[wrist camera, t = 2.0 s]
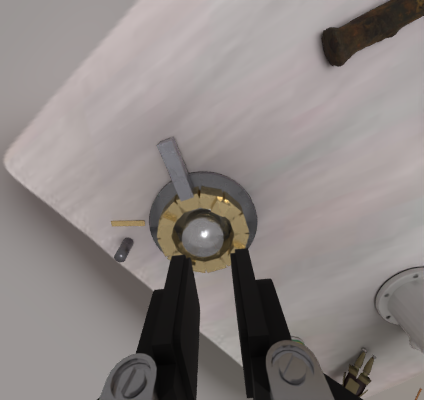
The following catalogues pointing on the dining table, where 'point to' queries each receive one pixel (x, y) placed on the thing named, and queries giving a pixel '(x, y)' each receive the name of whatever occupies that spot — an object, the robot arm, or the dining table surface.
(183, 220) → the housing
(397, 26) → the hand tool
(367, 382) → the green toy propeller plane
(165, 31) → the dining table surface
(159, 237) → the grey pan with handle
